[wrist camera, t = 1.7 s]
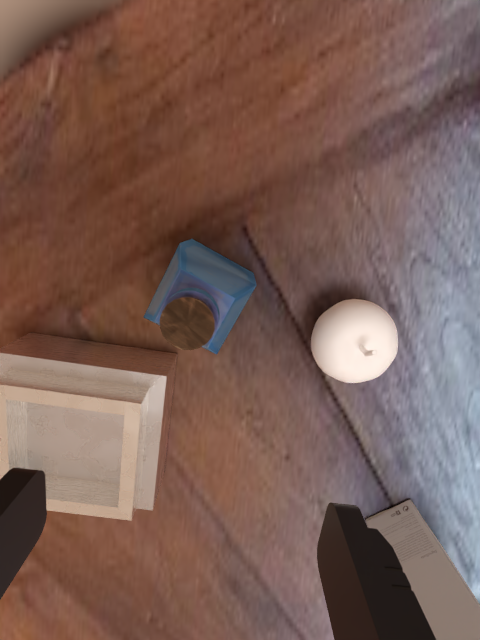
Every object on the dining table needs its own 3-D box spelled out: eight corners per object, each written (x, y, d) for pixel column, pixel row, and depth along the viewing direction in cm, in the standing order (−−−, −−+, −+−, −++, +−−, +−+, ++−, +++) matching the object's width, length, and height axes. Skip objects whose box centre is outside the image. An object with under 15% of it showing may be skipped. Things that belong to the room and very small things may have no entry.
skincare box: (363, 518, 38) (437, 696, 24) (412, 495, 37) (519, 665, 23) (394, 565, 40) (480, 755, 26) (441, 544, 39) (557, 730, 25)
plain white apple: (386, 296, 31) (435, 321, 23) (366, 366, 33) (405, 411, 25) (312, 285, 30) (336, 306, 23) (296, 356, 32) (314, 397, 25)
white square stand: (31, 332, 32) (-31, 364, 25) (177, 353, 32) (159, 391, 25) (33, 455, 36) (-19, 514, 28) (164, 472, 36) (145, 534, 29)
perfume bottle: (253, 272, 30) (261, 303, 19) (221, 329, 32) (210, 390, 20) (192, 238, 29) (161, 249, 18) (162, 298, 31) (115, 344, 19)
